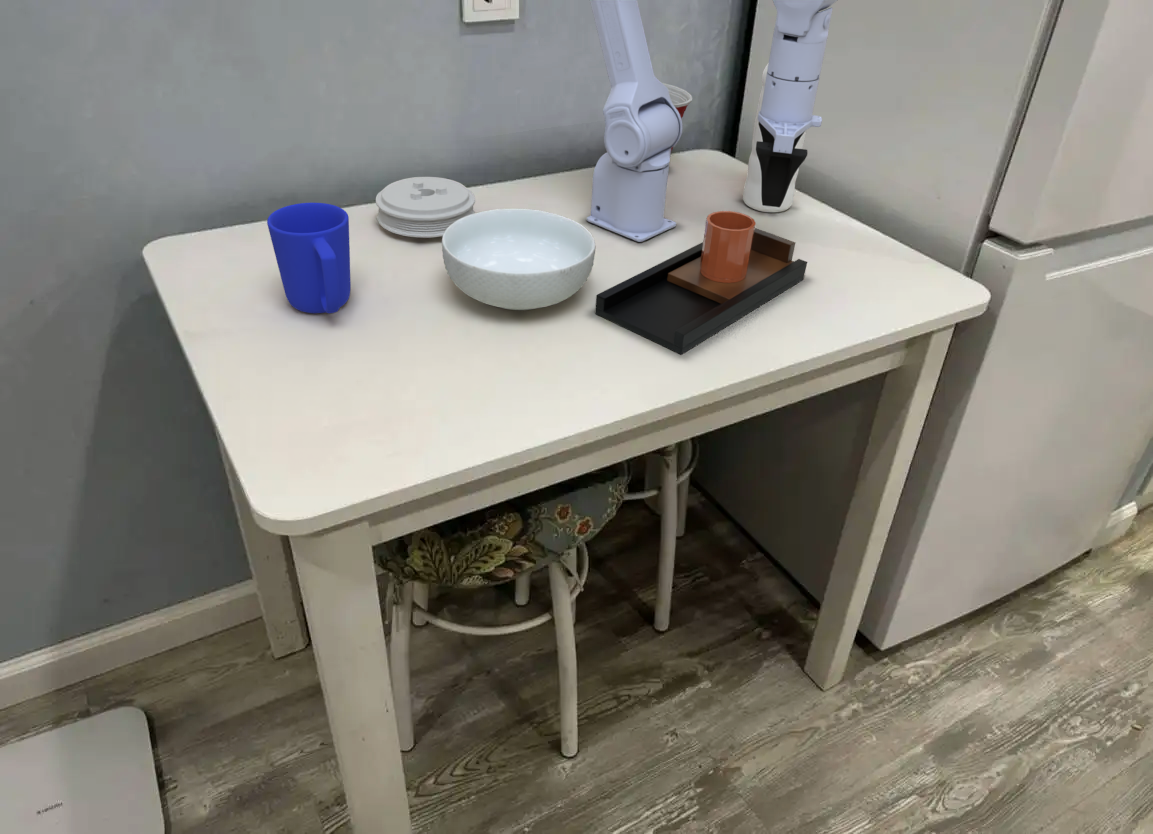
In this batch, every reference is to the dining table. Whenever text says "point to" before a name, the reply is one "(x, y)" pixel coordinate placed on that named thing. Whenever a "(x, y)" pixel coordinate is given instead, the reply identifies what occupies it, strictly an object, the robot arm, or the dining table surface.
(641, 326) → the slide rail
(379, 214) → the lid
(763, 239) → the slide
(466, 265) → the cereal bowl
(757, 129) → the water bottle
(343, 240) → the mug
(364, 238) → the dining table surface
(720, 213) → the cup
